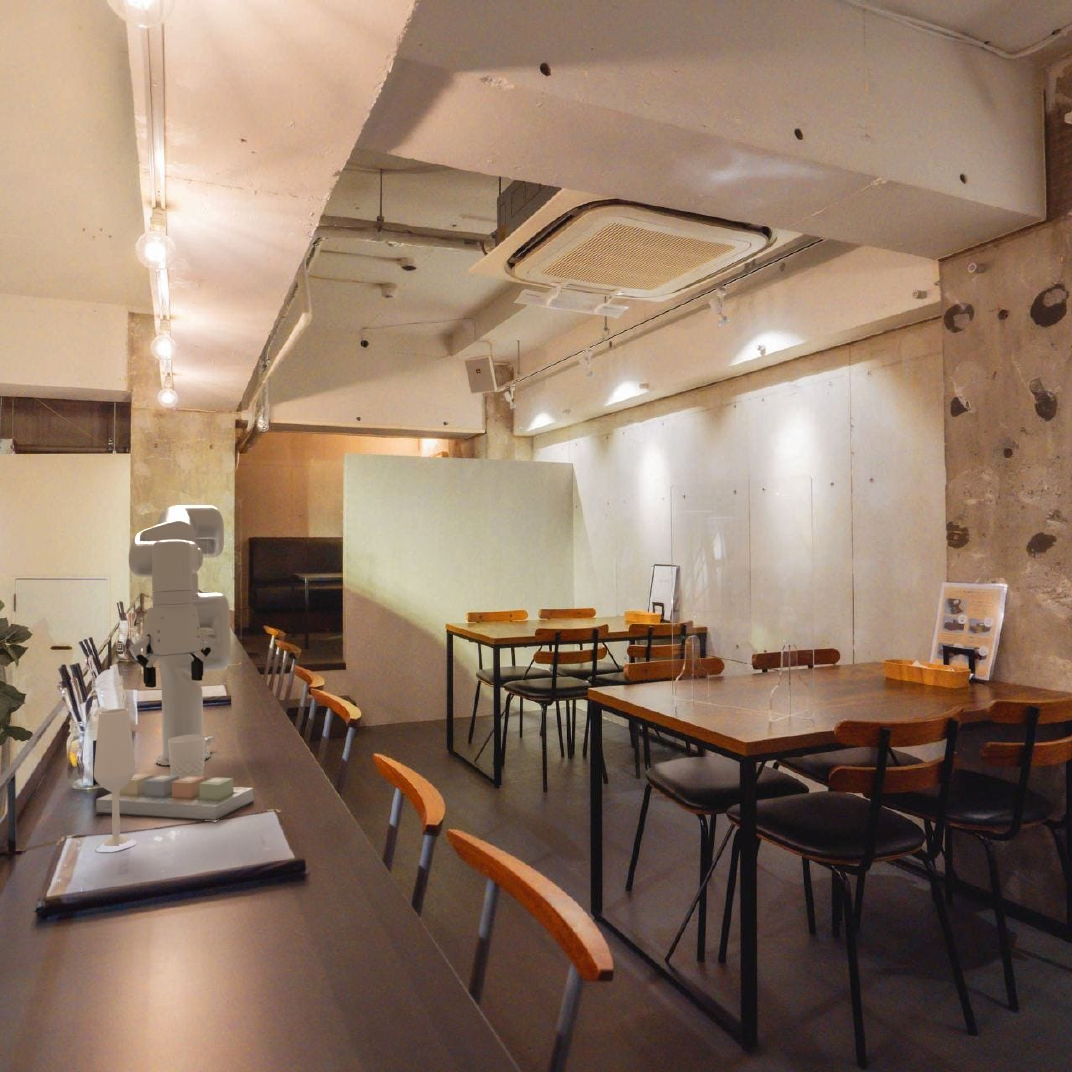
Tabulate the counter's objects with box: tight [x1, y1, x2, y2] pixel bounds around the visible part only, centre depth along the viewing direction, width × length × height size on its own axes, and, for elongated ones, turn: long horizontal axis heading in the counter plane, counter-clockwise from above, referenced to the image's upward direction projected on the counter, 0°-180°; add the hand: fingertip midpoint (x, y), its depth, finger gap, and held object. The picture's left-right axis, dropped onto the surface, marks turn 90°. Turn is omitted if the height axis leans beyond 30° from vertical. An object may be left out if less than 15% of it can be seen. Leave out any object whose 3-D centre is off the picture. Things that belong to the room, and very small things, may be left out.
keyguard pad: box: [95, 786, 254, 822], centre depth 159 cm, size 12×28×3 cm, turn 75°
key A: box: [172, 776, 207, 799], centre depth 158 cm, size 4×4×4 cm
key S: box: [119, 772, 154, 796], centre depth 161 cm, size 4×4×4 cm
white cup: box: [168, 734, 206, 779], centre depth 178 cm, size 8×8×10 cm
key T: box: [145, 774, 179, 798], centre depth 160 cm, size 4×4×4 cm
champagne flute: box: [93, 708, 137, 846], centre depth 139 cm, size 7×7×24 cm
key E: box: [199, 776, 234, 801], centre depth 156 cm, size 4×4×4 cm
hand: (174, 683), depth 158 cm, fingers open, 9 cm apart
